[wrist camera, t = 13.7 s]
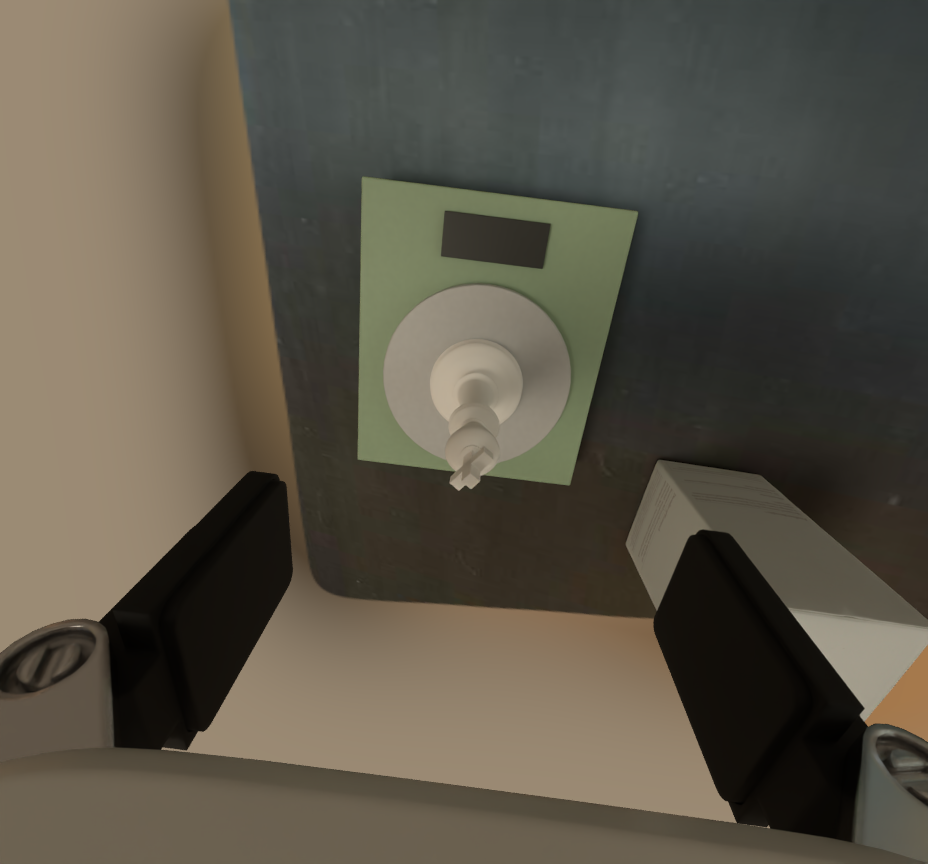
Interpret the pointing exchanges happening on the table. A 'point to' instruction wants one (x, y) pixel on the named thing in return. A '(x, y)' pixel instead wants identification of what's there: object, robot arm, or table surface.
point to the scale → (483, 315)
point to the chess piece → (474, 404)
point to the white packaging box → (783, 569)
